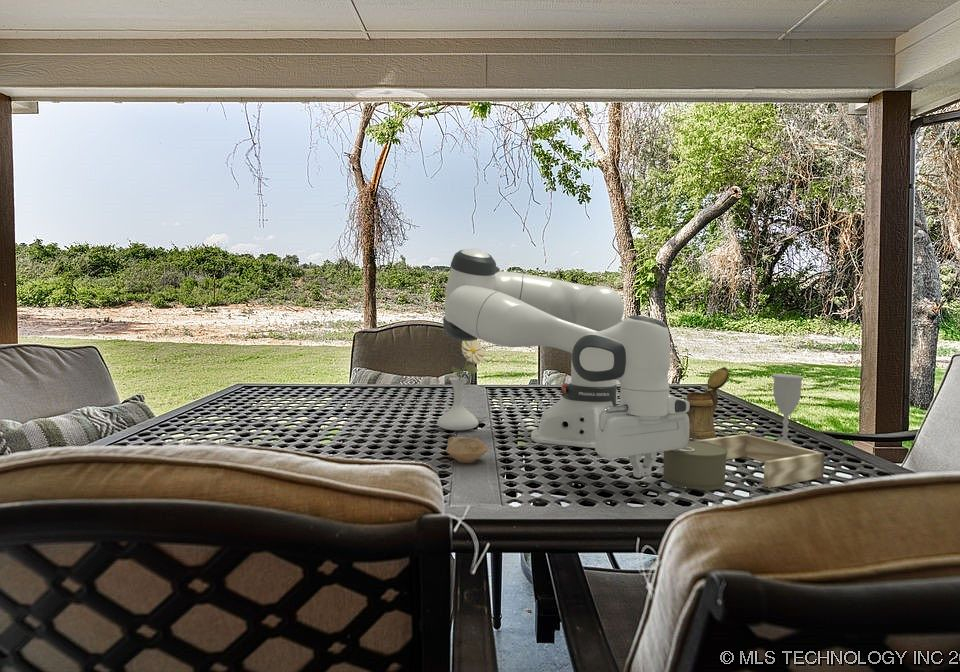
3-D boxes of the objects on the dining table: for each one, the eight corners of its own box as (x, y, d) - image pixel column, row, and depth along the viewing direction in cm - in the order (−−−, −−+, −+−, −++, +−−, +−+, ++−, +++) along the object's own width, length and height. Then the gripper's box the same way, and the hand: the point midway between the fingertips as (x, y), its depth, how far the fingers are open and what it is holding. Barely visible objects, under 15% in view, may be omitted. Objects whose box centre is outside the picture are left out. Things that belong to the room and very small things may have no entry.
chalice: (804, 454, 142) (808, 378, 140) (773, 452, 143) (776, 377, 142) (794, 447, 149) (798, 374, 148) (765, 445, 150) (768, 373, 149)
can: (739, 487, 116) (741, 452, 115) (688, 493, 112) (689, 457, 111) (697, 470, 127) (699, 438, 127) (649, 475, 123) (650, 442, 123)
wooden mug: (736, 436, 160) (739, 368, 159) (697, 440, 154) (699, 370, 153) (711, 429, 168) (713, 365, 167) (672, 433, 163) (675, 366, 161)
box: (767, 488, 115) (769, 462, 115) (691, 463, 132) (692, 441, 132) (823, 477, 123) (824, 453, 123) (744, 455, 140) (745, 433, 140)
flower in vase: (445, 435, 156) (446, 339, 155) (431, 426, 167) (431, 336, 165) (491, 431, 161) (492, 338, 160) (474, 423, 172) (475, 335, 170)
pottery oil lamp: (467, 448, 141) (481, 424, 139) (480, 479, 130) (495, 453, 129) (434, 438, 138) (447, 413, 136) (444, 469, 127) (459, 442, 125)
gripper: (611, 410, 105) (609, 488, 106) (696, 402, 114) (693, 474, 115) (588, 404, 110) (587, 478, 111) (671, 397, 120) (669, 465, 121)
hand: (641, 476), depth 113 cm, fingers closed
